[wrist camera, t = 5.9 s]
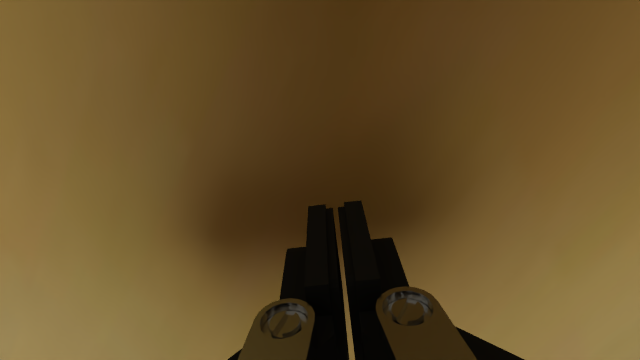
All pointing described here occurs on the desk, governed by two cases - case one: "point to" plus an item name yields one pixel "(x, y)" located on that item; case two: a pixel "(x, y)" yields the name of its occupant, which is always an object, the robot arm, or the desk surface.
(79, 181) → the desk surface
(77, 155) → the desk surface
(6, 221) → the desk surface
